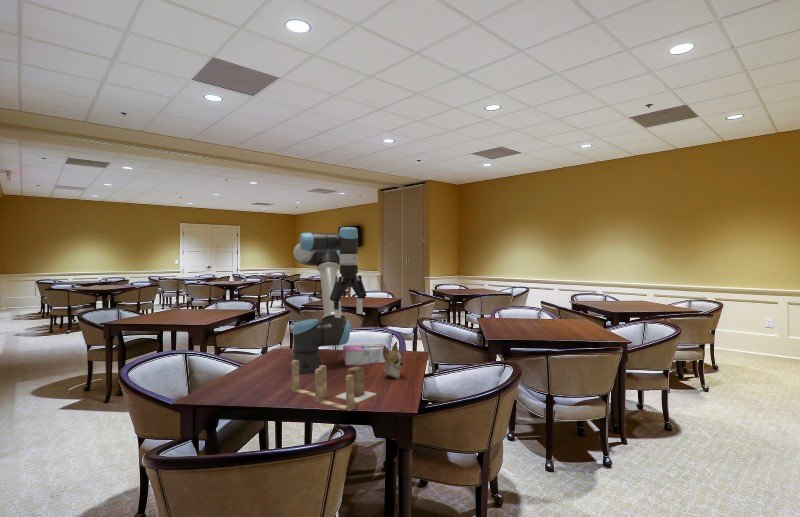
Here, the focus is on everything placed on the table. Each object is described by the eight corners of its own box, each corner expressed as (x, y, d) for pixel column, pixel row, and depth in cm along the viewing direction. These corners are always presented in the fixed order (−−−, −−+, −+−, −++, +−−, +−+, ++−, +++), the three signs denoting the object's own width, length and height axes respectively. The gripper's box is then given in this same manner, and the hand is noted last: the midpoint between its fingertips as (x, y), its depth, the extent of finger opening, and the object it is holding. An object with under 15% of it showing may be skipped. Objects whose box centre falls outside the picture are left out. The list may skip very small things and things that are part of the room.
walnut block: (347, 395, 161) (347, 369, 161) (355, 392, 164) (355, 366, 164) (356, 397, 158) (356, 370, 158) (364, 394, 162) (364, 368, 162)
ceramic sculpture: (395, 382, 179) (395, 347, 179) (378, 379, 183) (378, 344, 183) (408, 376, 188) (408, 342, 188) (392, 373, 192) (392, 340, 192)
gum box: (390, 362, 211) (385, 357, 224) (390, 348, 211) (385, 343, 224) (345, 365, 207) (343, 359, 219) (345, 350, 207) (343, 345, 219)
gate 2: (314, 402, 155) (314, 369, 155) (319, 400, 157) (319, 368, 157) (350, 411, 146) (349, 376, 146) (354, 409, 148) (354, 375, 147)
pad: (335, 397, 160) (335, 396, 160) (354, 390, 169) (354, 388, 169) (357, 403, 154) (357, 401, 154) (376, 395, 163) (376, 393, 163)
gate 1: (291, 391, 168) (291, 360, 168) (296, 389, 170) (296, 359, 170) (322, 399, 158) (322, 367, 158) (327, 397, 160) (326, 365, 160)
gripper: (334, 265, 164) (335, 320, 164) (374, 264, 184) (374, 312, 184) (320, 265, 168) (321, 318, 168) (360, 263, 188) (361, 311, 189)
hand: (349, 315), depth 176 cm, fingers open, 13 cm apart
